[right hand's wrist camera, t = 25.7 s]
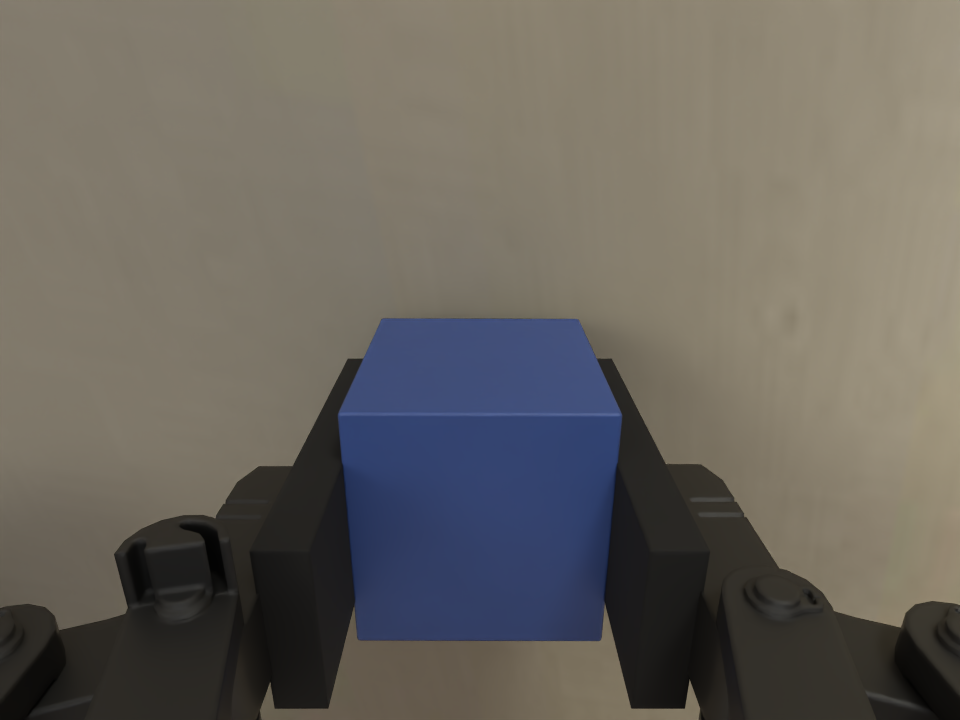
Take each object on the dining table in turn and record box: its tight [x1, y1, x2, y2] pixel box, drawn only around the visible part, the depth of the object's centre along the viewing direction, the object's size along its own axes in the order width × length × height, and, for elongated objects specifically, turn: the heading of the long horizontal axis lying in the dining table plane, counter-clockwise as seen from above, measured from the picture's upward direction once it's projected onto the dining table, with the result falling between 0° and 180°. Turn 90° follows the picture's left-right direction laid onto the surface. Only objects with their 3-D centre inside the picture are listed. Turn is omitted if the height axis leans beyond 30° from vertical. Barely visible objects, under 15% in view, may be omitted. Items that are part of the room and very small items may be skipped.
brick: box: [338, 319, 622, 641], centre depth 13 cm, size 4×4×5 cm
